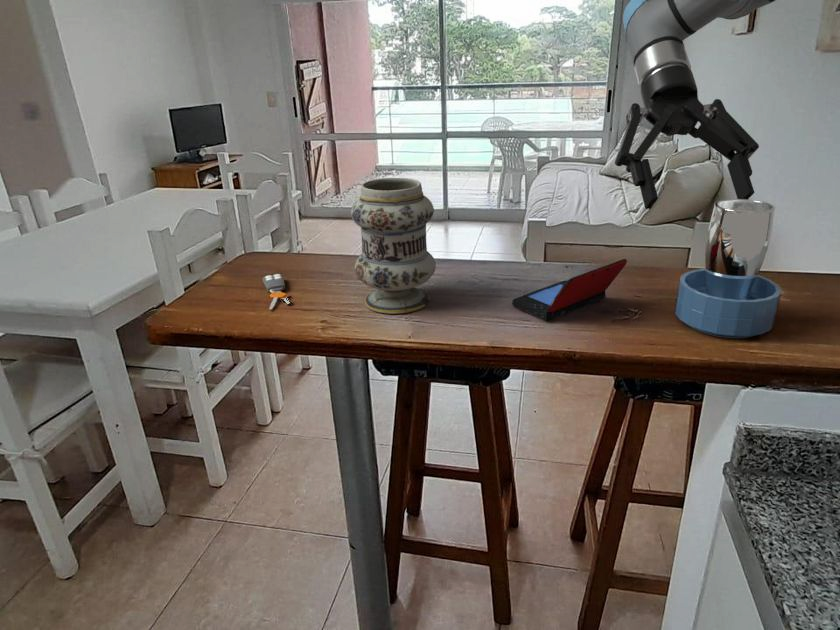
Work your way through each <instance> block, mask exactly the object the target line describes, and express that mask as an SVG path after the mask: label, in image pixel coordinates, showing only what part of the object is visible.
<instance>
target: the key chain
mask: <svg viewBox="0 0 840 630" xmlns="http://www.w3.org/2000/svg"><path fill="white" fill-rule="evenodd" d="M263 283H264V284H263ZM262 284H263V285H265V286H264V288H265V287H266V288H265V289H266V291H267V292H268V291H269V293H270V294H269V297H270V298H271V299H272V301H271V303H270V305H269V308H268V310H269V311H272V310H273V309H274V307H275V306H276V303H277V302H278V300H281V299H284V301H285V302H286V303H287V304H289V303H290V302H289V300H290V299H289V298H287V297H286V298H287V300H288V299H289V300H288V301H287V300H286V298H282V297H285V296H288V295H286V294H287V293H285V292H282V290H283V291H284V290H285V289H286V284H285V278H284V275H283V274H280V273H275V274H269V275H264V276H263V277H262ZM279 298H280V299H279ZM286 303H285V304H286ZM287 304H286V305H287ZM270 309H271V310H270Z"/></svg>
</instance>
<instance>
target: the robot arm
mask: <svg viewBox="0 0 840 630" xmlns="http://www.w3.org/2000/svg"><path fill="white" fill-rule="evenodd" d="M776 1H777V0H630V1H629V2H628V3H627V5H626V7H625V9H624V11H623V15H622V22H623V29H624V38H625V42H626V44H627V46H628V49H629V53H630V56H631V60H632V64H633V69H634V72H635V76H636V79H637V84H638V87H639V90H640V96H641V101H642V104H643V107H641V106H640V104H639V103H637V102H635V103H632V104H631V106H630V108H629V109H628V112H627V114H626V116H625V120H626V128H625V132H624V134H623V137H622V140H621V142H620V146H619V148H618V151H617V154H616V157H615V160H614V165H615V166H616V167H622V166H624V167H625V171H626V172H627V173H630V176H631V179H632V183H633V185H634V186H635V187H639V189H640V193H641V197H642V201H643V205H644V209H645V210H651V209H652V208H653V206H654V205H655V204H656V202H657V201H658V199H659V195H658V193H657V189H656V184H655V181H654V177H653V172H652V169H651V168H652V167H651V165H650V162H649V161H650V160H649V159H648V158H644V157H645V155H646V154H647V152H648V151H649V149H650V148H651V146H652V145H653V144H654V142H655V141H656V140H657V138H658V137H659V136H660V134H661V133H662V134H664V135H665V136H666V137H671V136H675V135H679V136H687V135H689V136H691V137H692V138H694V139H700V141H702V142H704V143H705V144H707V145H708V147H710V148H711V149H713V150H714V151H715V152H717V153H719V154H720V155H722V156H723V157H724V158H725V159H727V160H728V161H729V162H728V164H727V165H726V167H727V170H728V172H729V176H730V180H731V182H732V186H733V189H734V192H735V196H736V199H748V200H750V198H751V197H752V196H753V195H754V194H755V190H754V186H753V183H752V180H751V178H750V177H751V176H752V175H753V169H752V166H751V163H750V160H749V159H750V158H751V157H752V156H753V155H754V154H755V152H756V151H758V149H759V148H760V145H759V144H758V142H757V141H756V140H755V139H754V138H753V137H752V136H751V135H750V133H748V132H747V131H746V129H744V128H743V127H742V126H741V125H740V123H739V122H738V121H737V120H736V119H735V118H734V117H733V116H732V115H731V114H730V113H729V112H728V111H727V110H726V108H725V106H724V102H723V101H722V100H721V99H720V98H715V99H713V101H712V102H711V103H707V104H703V103H702V102H701V101H700V100H699V94H698V93H699V91H698V86H697V83H696V80H695V75H694V74H693V71H692V66H691V62H690V60H689V56H688V53H687V50H686V47H685V44H684V40H686V39H688V38H689V37H690V36H693V35H694V34H696V33H697V32H698V31H699V30H701V29H703V28H704V27H705V26H707V25H708V24H710V23H712V22H713V21H715V20H716V19H717V18H718V19H725V20H730V21H731V20H737V19H741V18H744V17H746V16H748V15H750V14H751V13H752V12H754V11H756V10H757V9H760V8H763V7H765V6H767V5H769V4H772V3H774V2H776ZM644 119H645V120H646V121H647V122H648V123H649V124H651V125H652V128H651V129H650V131H649V132H648V133H647V135H646V136H645V138H644V139H643V140H642V142H641V143H640V145H639V146H638V148H637V149H636V151H634V153H632V152H630V151H631V148H632V145H633V142H634V140H635V136H636V133H637V130H638V127H639V124H640V123H642V122H643V120H644ZM698 123H699V126H698V128H697V127H696V126H697V124H698Z"/></svg>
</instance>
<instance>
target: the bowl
mask: <svg viewBox="0 0 840 630" xmlns="http://www.w3.org/2000/svg"><path fill="white" fill-rule="evenodd" d="M705 284H706V268H700V269H699V268H698V269H692V270H690V271H687V272H684V273H683V274H682V275H681V276H680V277H679V283H678V290H677V296H676V302H675V311H674V314H675V316H676V317H677V318H678V319H679V320H680V321H681V322H683V323H684V324H686V325H687V326H689V328H691V329H694V330H695V331H698V332H700V333H703V334H706V335H710V336H714V337H719V338H726V339H745V338H750V337H751V338H752V337H754V336H759V335H763V334H765V333H768V332H770V331H771V330H772V328H773V327H774V325H775V321H776V316H777V312H778V308H779V304H780V299H781V295H782V289H781V286H780V285H779V284H777V283H776V282H775V281H773V280H771V279H769V278H767V277H765V276H762V275H759V274H758V275H757V277H756V280H755V282H754V284H753V287H752V290H751V293H750V298H749V300H735V299H726V298H720V297H715V296H711V295H707V294H704V291H705Z"/></svg>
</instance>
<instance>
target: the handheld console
mask: <svg viewBox="0 0 840 630" xmlns="http://www.w3.org/2000/svg"><path fill="white" fill-rule="evenodd" d="M627 263H628V259H626V258H623V259H619V260H617V261H615V262H612V263H609V264H606V265H604V266H600V267H598V268H595V269H592V270H589V271H587V272H584V273H581V274H577V275H576V276H573V277H571V278H569V279H567V280H562V281H559V282H555V283H553V284H550V285H548V286H547V285H546V286H545V287H541V288H539V289H536V290H534V291H531V292H527V293H526V294H523V295H520V296H517V297H515V298H513V299H512V303H511V304H512V306H513V307H514V308H516V309H518V310H521V311H522V312H525V313H526V314H529V315H532V316H534V317H535V318H538V319H541V320H543V321H544V322H550V321H554V320H556V319H557V318H560V317H562V316H564V315H567V314H569V313H571V312H573V311H574V310H577V309H581V308H584V307H587V306H589V305H592V304H594V303H597V302H600V301H602V300H604V299H605V298H606V291H607V290H608V288H609V287H610V286H611V284H613V282H614V280H615V279H616V278H617V276H619V274H620V273H621V271H622V270H623V269H624V268H625V266H626V265H627Z"/></svg>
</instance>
